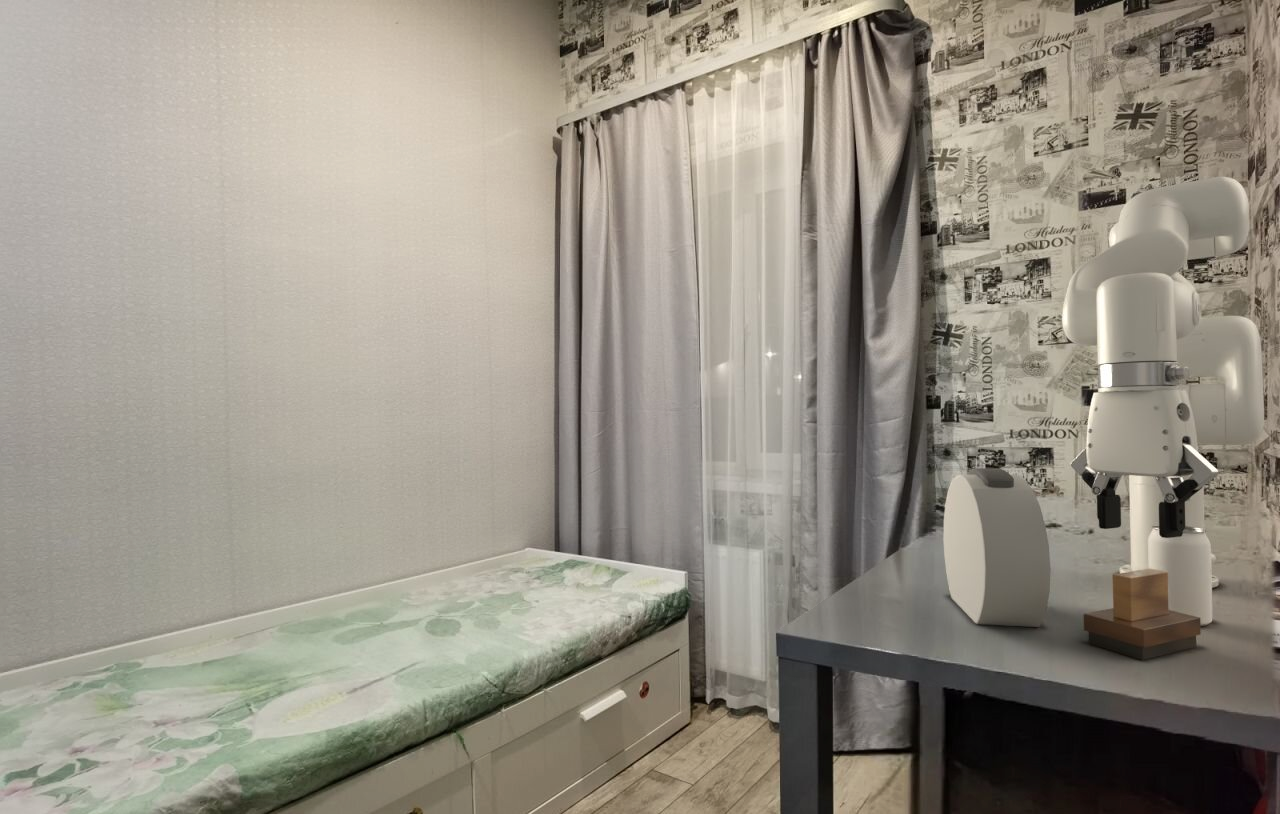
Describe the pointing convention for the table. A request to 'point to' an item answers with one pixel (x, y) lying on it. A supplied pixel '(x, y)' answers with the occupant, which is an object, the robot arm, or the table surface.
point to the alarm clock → (996, 549)
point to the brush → (1141, 618)
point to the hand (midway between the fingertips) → (1139, 530)
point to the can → (1185, 570)
